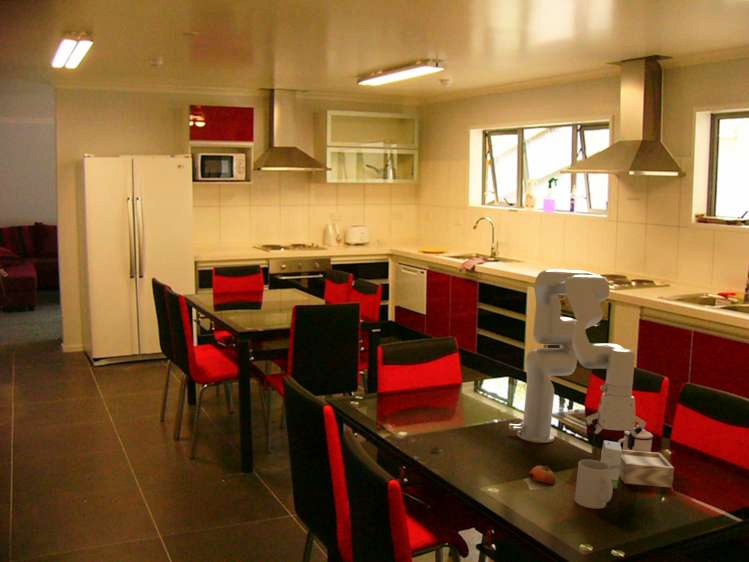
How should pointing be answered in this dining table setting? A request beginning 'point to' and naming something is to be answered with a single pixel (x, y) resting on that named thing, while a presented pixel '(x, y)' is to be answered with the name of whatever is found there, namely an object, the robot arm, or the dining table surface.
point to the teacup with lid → (638, 441)
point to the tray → (645, 469)
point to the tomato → (542, 474)
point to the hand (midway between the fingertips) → (613, 447)
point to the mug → (593, 484)
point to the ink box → (612, 459)
